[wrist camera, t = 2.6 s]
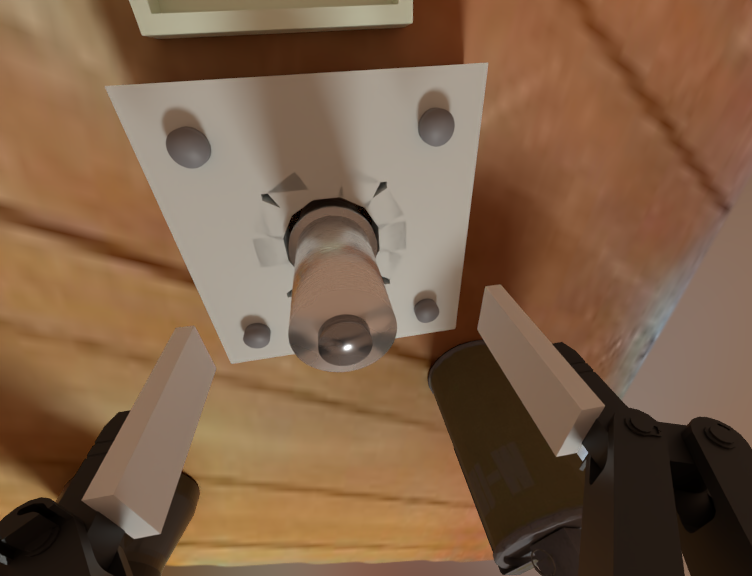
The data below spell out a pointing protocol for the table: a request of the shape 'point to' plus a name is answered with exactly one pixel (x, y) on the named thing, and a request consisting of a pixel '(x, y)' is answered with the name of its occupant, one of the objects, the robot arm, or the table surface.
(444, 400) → the canister
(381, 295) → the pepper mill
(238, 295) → the bearing plate
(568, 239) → the table surface
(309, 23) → the parts tray
